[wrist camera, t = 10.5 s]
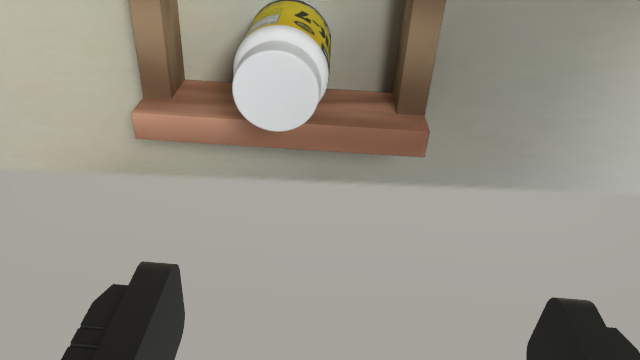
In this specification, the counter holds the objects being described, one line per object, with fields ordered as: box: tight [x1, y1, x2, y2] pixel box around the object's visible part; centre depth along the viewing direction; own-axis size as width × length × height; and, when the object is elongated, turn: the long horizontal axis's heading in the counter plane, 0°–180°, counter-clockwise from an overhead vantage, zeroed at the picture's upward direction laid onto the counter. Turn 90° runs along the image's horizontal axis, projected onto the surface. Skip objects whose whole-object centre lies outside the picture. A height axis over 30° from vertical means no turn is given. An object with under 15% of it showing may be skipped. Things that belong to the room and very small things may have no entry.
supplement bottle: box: [232, 0, 331, 132], centre depth 26 cm, size 5×5×8 cm
